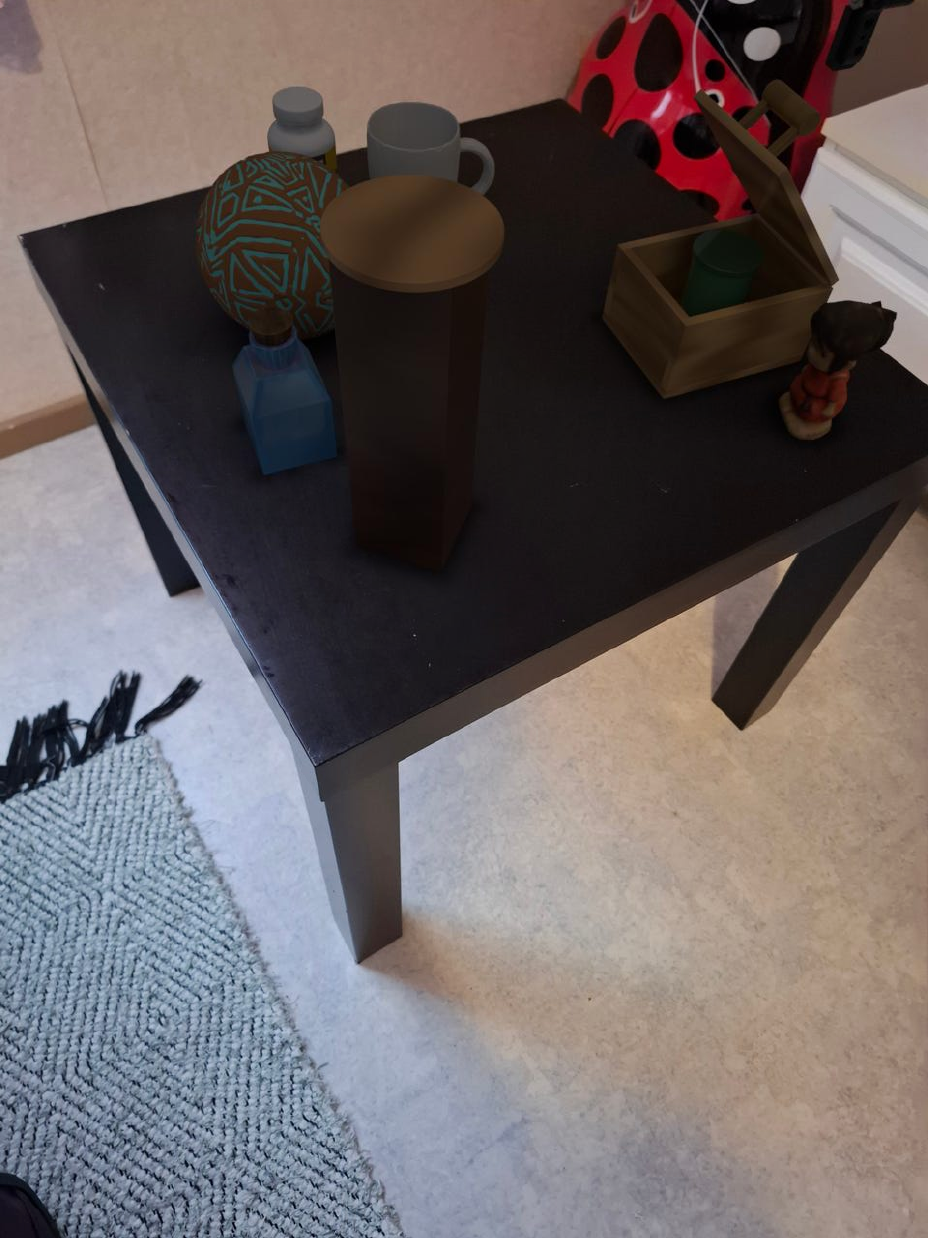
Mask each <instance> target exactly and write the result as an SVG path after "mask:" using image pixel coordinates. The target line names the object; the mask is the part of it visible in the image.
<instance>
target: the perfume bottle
mask: <svg viewBox="0 0 928 1238" xmlns="http://www.w3.org/2000/svg"><path fill="white" fill-rule="evenodd" d="M292 321H293V320H292V316H291V314H290V313H289V312H288V311H286V310H285V309H282V308H279V307H264V308H261V309H258V310H256V311H255V312H253V313H252V314H251V315H250V317H249V320H248V323H249V327H250V329H251V330H249V333H248V338H249V344H248V345H244V346H243V347H242V348H241V351H240V352H239V353H238V356H237V357H236V359H235V360H234V362H233V363H232V365H231V367H232V372H233V376H234V382H235V386H236V391H237V396H238V399H239V403H240V408H241V413H242V416H243V421H244V426H245V428H246V431H247V434H248V436H249V439H250V442H251V444H252V447H253V450H254V453H255V455H256V458H257V461H258V463H259V466H260V469H261V472H262V474H263V476H266V475H269V474H273V473H278V472H281V471H287V470H290V469H294V468H297V467H302V466H306V465H309V464H314V463H318V462H321V461H325V460H329V459H333V458H338V454H337V453H338V452H337V444H336V433H335V425H334V417H333V406H332V399H331V397H330V395H329V393H328V390H327V388H326V386H325V384H324V381H323V378H322V377H321V374H320V371H319V370H318V368H317V365H316V364H315V361H314V358H313V356H312V354H311V352H310V350H309V348H308V347H307V346H306V345H305V343H303V342H302V340H299V339H298V338H297V335H296V329H295V328H294V327H293V325H292Z"/></svg>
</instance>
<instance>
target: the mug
mask: <svg viewBox="0 0 928 1238" xmlns="http://www.w3.org/2000/svg"><path fill="white" fill-rule="evenodd" d="M366 124H367V125H366V152H367V165H368V174H369V180H371V179H375V178H379V177H385V176H393V175H425V176H433V177H438V178H443V179H447V180H451V181H454V182H457V183H458V181H459V170H460V160H461V159H460V158H461V153H472V154H474V155H476V156H477V157H478V158H479V157H480V159H481V161H482V163H483V169H482V173H481V175H480V178H479V180H478V181H477V182H476V183H475V184H474V185H472V187H470V188H471V189H473V190H475V191H476V192H478V193H480V194H481V195H483V196H484V197H485V194H486V193H487V192H488V191H489V190H490V188H491V186H492V184H493V182H494V177H495V161H494V157H493V155H492V154H491V152H490V150H489V148H487V146H486V145H485V144H483V143H482V142H480V141H479V140H477V139H475V138H471V137H461V125H460V123H459V120H458V118H457V116H455V115H454V114H453V113H452V112H451V111H450V110H448V109H446V108H444V107H442V106H440V105H437V104H433V103H429V102H428V103H427V102H421V101H401V102H395V103H388V104H386V105H383V106H381V107H379V108H378V109H376V110H375V111H373V112H372V113H371V115H370V116H369V118H368V120H367V123H366Z"/></svg>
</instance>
